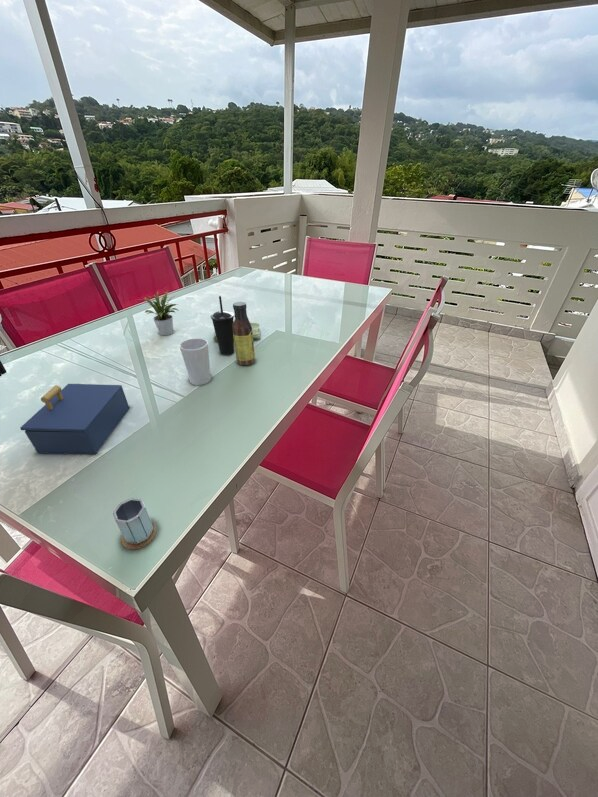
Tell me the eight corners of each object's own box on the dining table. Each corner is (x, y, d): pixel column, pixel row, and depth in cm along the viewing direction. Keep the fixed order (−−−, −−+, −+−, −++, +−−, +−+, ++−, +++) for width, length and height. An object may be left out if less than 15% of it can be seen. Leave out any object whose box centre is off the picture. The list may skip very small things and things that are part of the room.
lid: (21, 430, 71) (11, 414, 68) (69, 385, 85) (62, 371, 83) (85, 432, 71) (78, 416, 68) (122, 387, 86) (117, 373, 83)
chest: (37, 453, 75) (24, 431, 71) (81, 407, 89) (71, 386, 86) (95, 454, 75) (85, 432, 71) (129, 407, 89) (122, 387, 86)
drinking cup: (212, 356, 114) (203, 299, 103) (220, 346, 121) (213, 291, 109) (233, 358, 113) (227, 300, 102) (240, 348, 120) (235, 293, 108)
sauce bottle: (258, 363, 110) (254, 305, 99) (240, 368, 108) (234, 308, 96) (250, 355, 115) (245, 299, 104) (233, 359, 112) (226, 302, 101)
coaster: (126, 556, 55) (125, 554, 55) (118, 531, 59) (117, 530, 59) (160, 538, 58) (159, 536, 58) (150, 515, 62) (150, 514, 61)
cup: (218, 376, 103) (213, 341, 96) (202, 388, 97) (195, 352, 91) (198, 370, 106) (191, 336, 99) (181, 382, 100) (173, 346, 93)
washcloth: (261, 341, 125) (260, 333, 123) (213, 343, 123) (212, 335, 121) (259, 327, 136) (258, 320, 134) (215, 329, 133) (214, 322, 131)
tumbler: (129, 550, 55) (117, 527, 52) (122, 530, 58) (110, 507, 55) (156, 535, 58) (147, 512, 54) (149, 517, 61) (139, 494, 57)
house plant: (151, 344, 122) (139, 300, 112) (139, 332, 130) (127, 291, 121) (188, 334, 129) (180, 293, 120) (174, 324, 138) (166, 284, 128)
